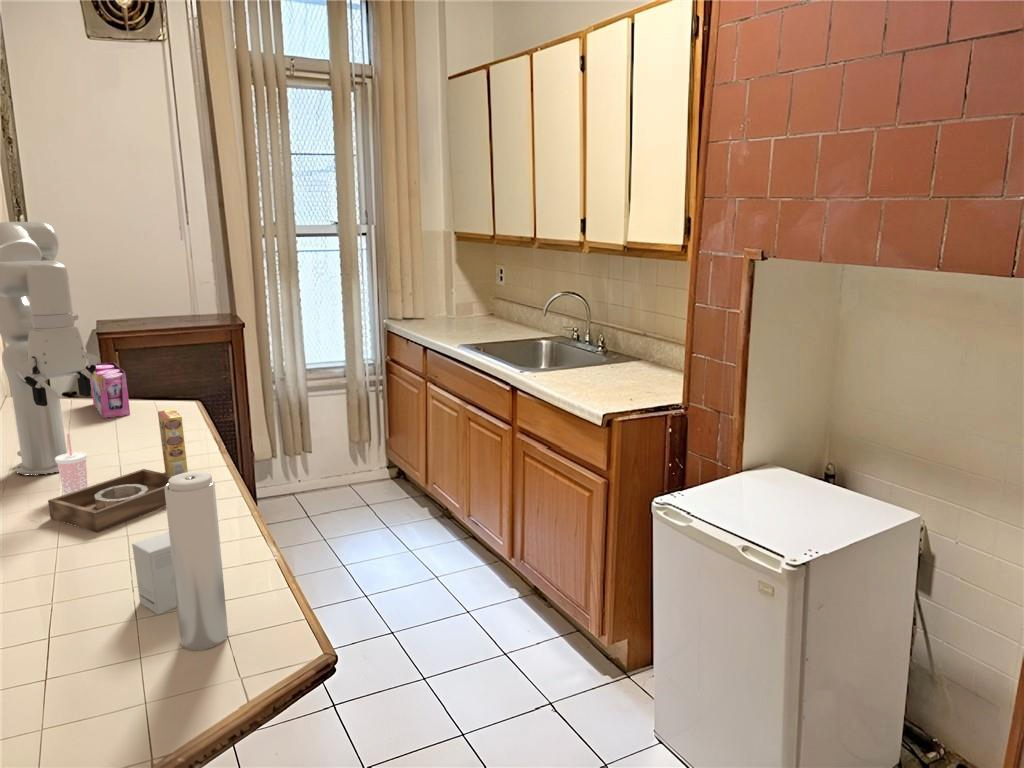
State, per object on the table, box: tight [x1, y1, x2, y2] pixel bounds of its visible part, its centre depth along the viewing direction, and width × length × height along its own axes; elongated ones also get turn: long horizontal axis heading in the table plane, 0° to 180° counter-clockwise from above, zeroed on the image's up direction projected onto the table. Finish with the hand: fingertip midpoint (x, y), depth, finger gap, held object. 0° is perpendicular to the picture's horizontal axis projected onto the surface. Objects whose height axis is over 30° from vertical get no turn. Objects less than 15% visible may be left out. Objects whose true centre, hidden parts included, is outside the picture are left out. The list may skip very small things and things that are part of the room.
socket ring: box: [94, 484, 148, 510], centre depth 159 cm, size 10×10×2 cm
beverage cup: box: [55, 433, 89, 495], centre depth 165 cm, size 6×6×14 cm
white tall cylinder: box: [164, 471, 229, 651], centre depth 107 cm, size 6×6×25 cm
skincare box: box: [131, 531, 177, 615], centre depth 121 cm, size 10×6×10 cm, turn 141°
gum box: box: [90, 361, 131, 419], centre depth 239 cm, size 24×8×14 cm, turn 36°
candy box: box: [157, 408, 189, 476], centre depth 178 cm, size 9×4×15 cm, turn 33°
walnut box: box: [47, 468, 173, 533], centre depth 159 cm, size 15×22×4 cm
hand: (64, 400), depth 162 cm, fingers open, 9 cm apart
